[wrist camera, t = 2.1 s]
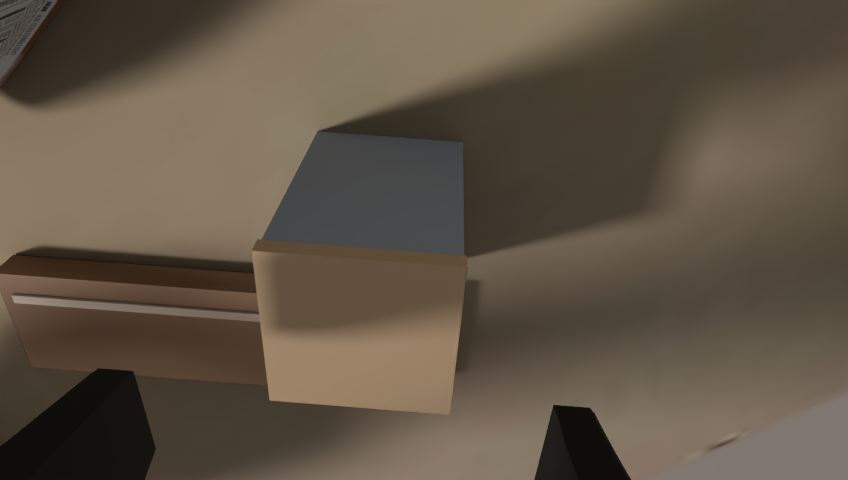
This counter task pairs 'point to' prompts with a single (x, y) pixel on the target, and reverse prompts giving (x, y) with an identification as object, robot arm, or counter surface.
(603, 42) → the counter surface
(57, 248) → the counter surface
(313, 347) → the tan grey block
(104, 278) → the board
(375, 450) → the counter surface
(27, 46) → the tin
